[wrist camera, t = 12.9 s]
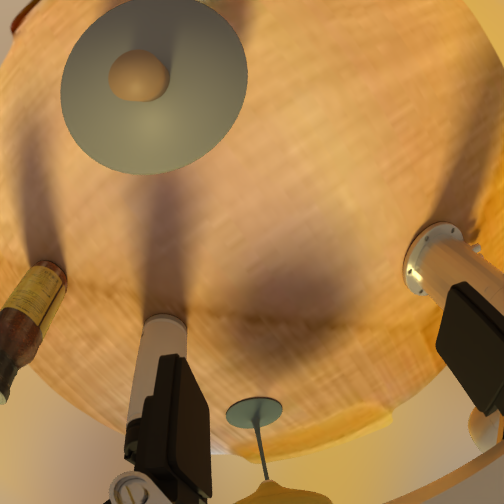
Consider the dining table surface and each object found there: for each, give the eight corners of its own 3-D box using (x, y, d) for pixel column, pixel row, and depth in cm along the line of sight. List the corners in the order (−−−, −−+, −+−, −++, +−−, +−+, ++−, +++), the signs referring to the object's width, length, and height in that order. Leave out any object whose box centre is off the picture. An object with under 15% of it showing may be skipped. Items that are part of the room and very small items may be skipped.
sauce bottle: (26, 260, 33) (-50, 360, 16) (61, 255, 34) (-13, 366, 16) (42, 300, 36) (-16, 406, 19) (76, 298, 37) (24, 414, 19)
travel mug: (133, 323, 40) (107, 450, 22) (172, 306, 39) (161, 440, 22) (157, 352, 43) (147, 473, 25) (195, 337, 42) (199, 465, 25)
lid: (212, -23, 18) (215, -54, 12) (269, 134, 25) (287, 142, 20) (47, 51, 18) (12, 42, 13) (103, 199, 26) (80, 224, 20)
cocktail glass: (287, 433, 59) (314, 532, 36) (204, 435, 55) (214, 543, 33) (311, 383, 51) (356, 505, 29) (209, 384, 47) (222, 526, 25)
